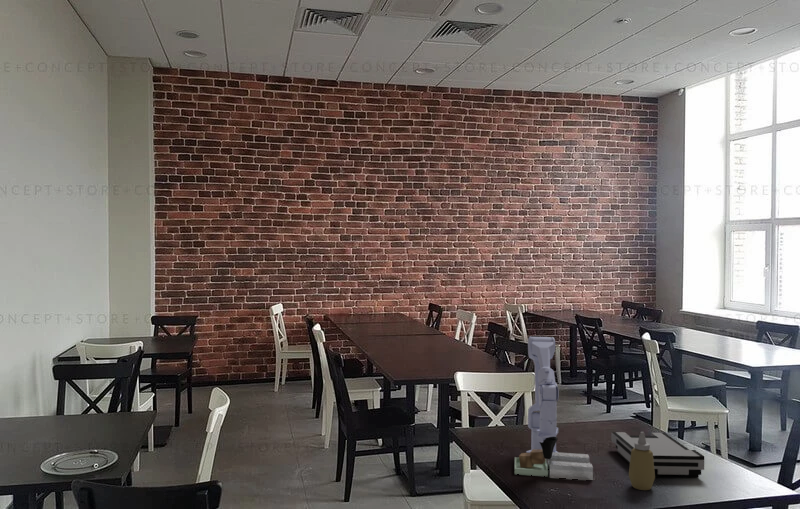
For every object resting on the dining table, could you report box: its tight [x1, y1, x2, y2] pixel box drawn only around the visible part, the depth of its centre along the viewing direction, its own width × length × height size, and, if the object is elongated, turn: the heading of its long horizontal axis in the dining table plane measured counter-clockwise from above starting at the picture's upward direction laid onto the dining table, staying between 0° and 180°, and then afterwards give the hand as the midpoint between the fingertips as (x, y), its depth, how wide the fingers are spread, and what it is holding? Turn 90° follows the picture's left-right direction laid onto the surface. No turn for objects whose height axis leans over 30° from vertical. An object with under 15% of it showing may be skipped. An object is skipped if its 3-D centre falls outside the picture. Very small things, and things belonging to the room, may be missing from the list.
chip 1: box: [518, 452, 534, 468], centre depth 221 cm, size 4×4×4 cm
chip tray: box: [514, 456, 549, 478], centre depth 219 cm, size 11×12×2 cm
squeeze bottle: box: [628, 431, 656, 491], centre depth 203 cm, size 8×8×18 cm
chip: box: [530, 449, 546, 464], centre depth 220 cm, size 4×4×4 cm
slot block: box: [547, 451, 594, 481], centre depth 217 cm, size 14×14×4 cm
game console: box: [610, 431, 705, 478], centre depth 227 cm, size 21×32×8 cm, turn 0°
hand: (547, 458), depth 218 cm, fingers closed
